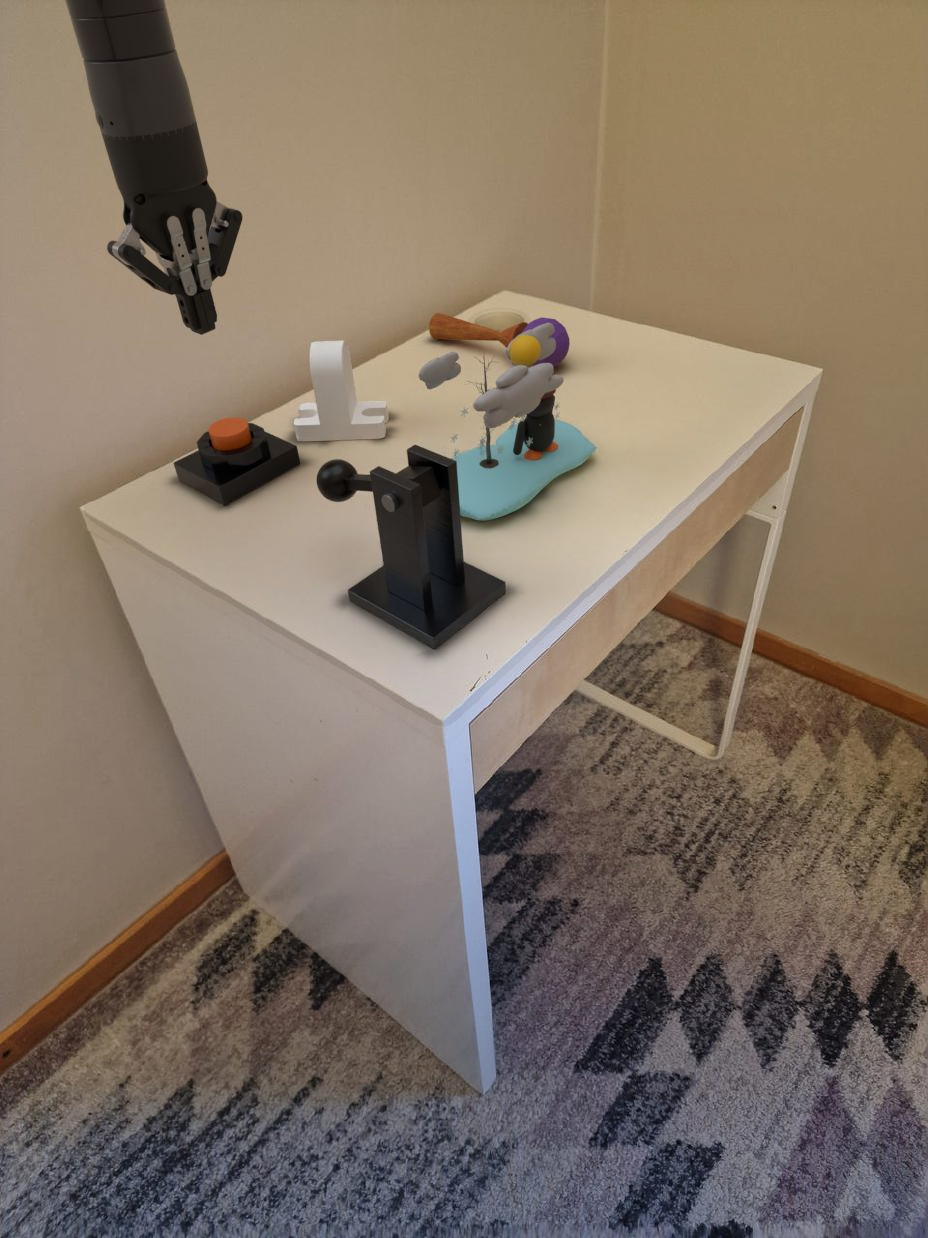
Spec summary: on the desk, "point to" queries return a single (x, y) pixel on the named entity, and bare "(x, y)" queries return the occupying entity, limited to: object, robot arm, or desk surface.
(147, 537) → the desk surface
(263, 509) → the desk surface
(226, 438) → the button
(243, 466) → the button housing
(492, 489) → the penguin figurine
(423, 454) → the switch bracket
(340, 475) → the lever
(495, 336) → the kendama
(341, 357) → the white mounting bracket
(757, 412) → the desk surface
